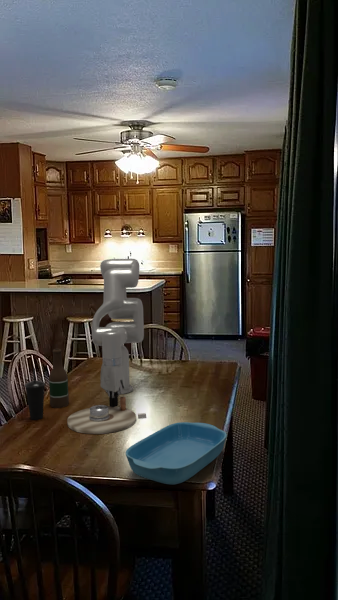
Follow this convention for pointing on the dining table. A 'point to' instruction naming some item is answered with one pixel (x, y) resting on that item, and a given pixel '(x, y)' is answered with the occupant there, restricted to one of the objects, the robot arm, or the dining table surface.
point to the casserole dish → (176, 452)
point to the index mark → (142, 415)
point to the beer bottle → (58, 382)
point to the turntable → (116, 422)
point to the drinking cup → (35, 398)
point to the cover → (99, 413)
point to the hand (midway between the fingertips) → (113, 406)
